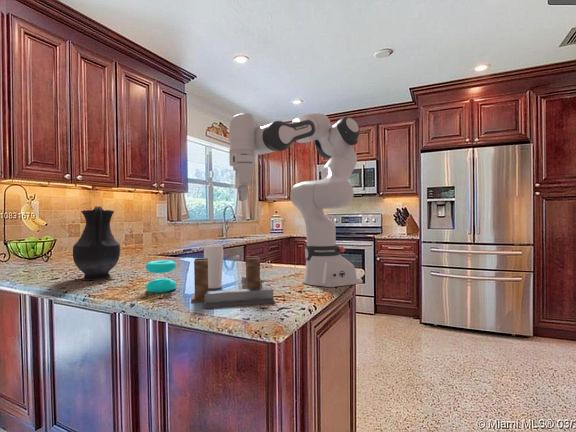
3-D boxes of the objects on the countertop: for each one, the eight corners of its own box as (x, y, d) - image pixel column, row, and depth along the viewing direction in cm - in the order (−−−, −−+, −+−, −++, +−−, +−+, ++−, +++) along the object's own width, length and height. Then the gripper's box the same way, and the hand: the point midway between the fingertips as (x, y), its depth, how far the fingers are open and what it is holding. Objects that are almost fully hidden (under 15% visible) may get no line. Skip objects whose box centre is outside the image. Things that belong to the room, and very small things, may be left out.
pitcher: (118, 272, 153) (117, 207, 152) (123, 280, 135) (122, 206, 135) (73, 276, 144) (72, 207, 144) (72, 285, 126) (70, 205, 126)
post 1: (211, 296, 107) (211, 257, 107) (211, 301, 101) (211, 260, 101) (192, 297, 106) (191, 258, 106) (191, 302, 100) (190, 261, 100)
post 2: (260, 293, 111) (260, 255, 111) (263, 297, 105) (263, 258, 105) (242, 294, 110) (242, 256, 109) (244, 298, 104) (244, 259, 104)
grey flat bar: (270, 297, 105) (270, 295, 105) (274, 303, 98) (274, 301, 98) (204, 302, 100) (204, 300, 100) (204, 308, 94) (204, 306, 94)
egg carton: (262, 292, 113) (262, 280, 113) (240, 293, 112) (240, 281, 112) (262, 285, 124) (262, 274, 124) (241, 286, 123) (241, 275, 123)
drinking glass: (219, 290, 116) (218, 246, 116) (201, 289, 117) (200, 246, 117) (226, 285, 123) (226, 245, 123) (209, 285, 124) (208, 244, 124)
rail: (271, 297, 103) (271, 287, 103) (273, 299, 100) (273, 289, 100) (204, 301, 99) (204, 291, 99) (204, 304, 96) (204, 293, 96)
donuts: (140, 263, 112) (153, 259, 122) (140, 293, 112) (153, 287, 122) (169, 263, 112) (180, 259, 122) (170, 293, 112) (180, 286, 122)
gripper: (231, 164, 125) (231, 201, 126) (235, 155, 106) (235, 199, 106) (248, 165, 127) (248, 201, 127) (255, 155, 107) (255, 199, 107)
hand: (242, 200), depth 116 cm, fingers open, 8 cm apart
